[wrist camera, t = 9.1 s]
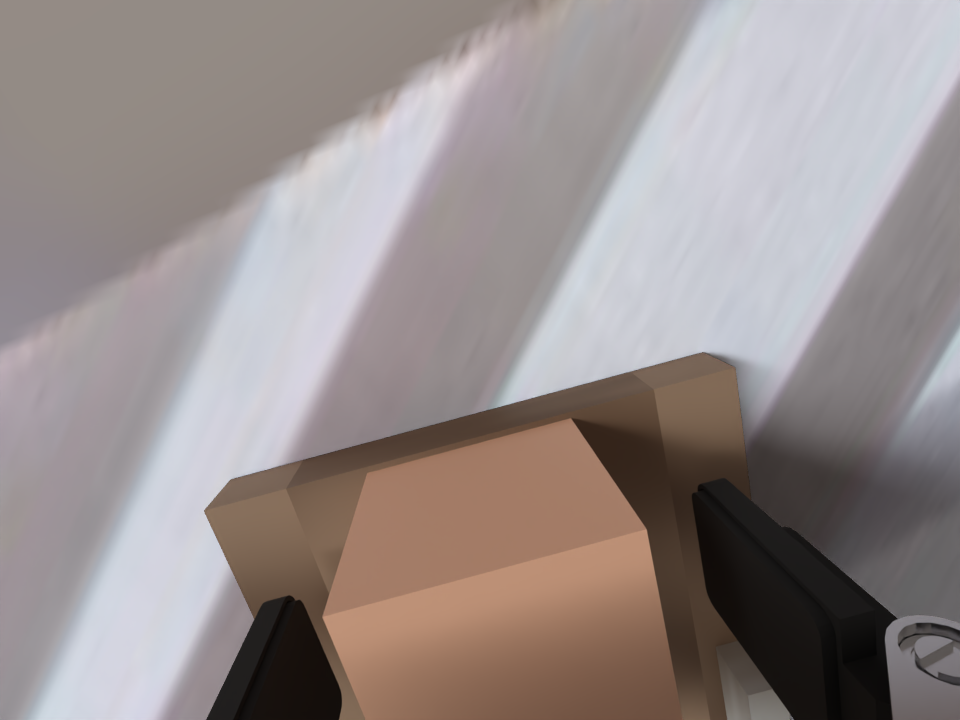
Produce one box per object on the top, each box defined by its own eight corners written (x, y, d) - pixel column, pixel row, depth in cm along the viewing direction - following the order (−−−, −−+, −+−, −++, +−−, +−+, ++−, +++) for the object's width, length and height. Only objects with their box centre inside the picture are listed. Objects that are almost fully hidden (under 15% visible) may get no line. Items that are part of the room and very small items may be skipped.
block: (609, 588, 13) (692, 768, 9) (425, 638, 13) (417, 843, 9) (571, 418, 12) (647, 529, 7) (367, 473, 12) (322, 617, 7)
